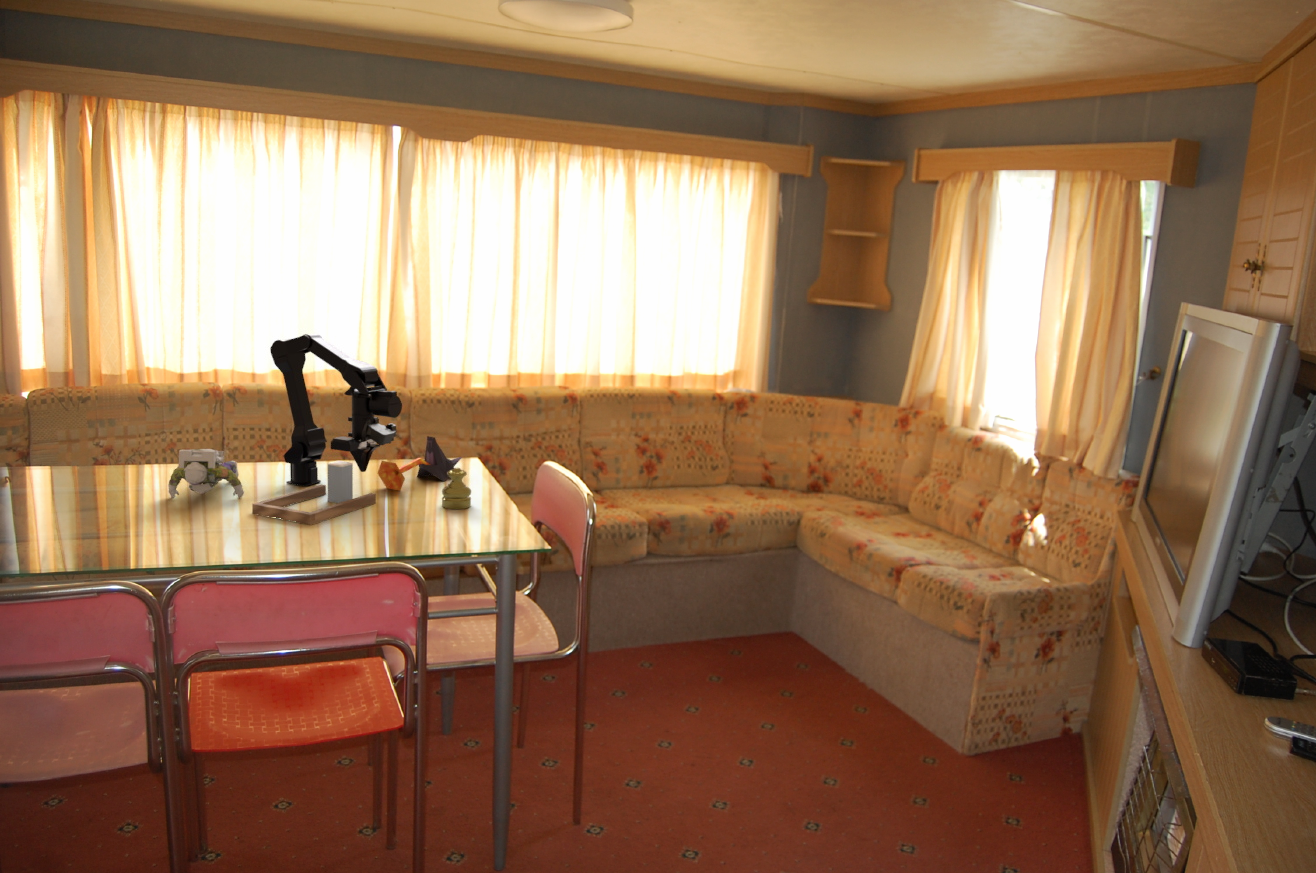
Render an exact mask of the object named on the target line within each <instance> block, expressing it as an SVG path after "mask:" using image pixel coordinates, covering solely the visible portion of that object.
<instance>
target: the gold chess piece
mask: <svg viewBox="0 0 1316 873" xmlns="http://www.w3.org/2000/svg"><path fill="white" fill-rule="evenodd" d="M467 473H468V472H467V471H465V470H464V469H461V468H460V467H454V469H452V470H450V471H448V472H447V475H448V476H449V478H450V480H451V481H450V482H449V483H448V484H447V485H446V486H444V487H443V488H442V490H441V494H442V497H441V506H442V507H443V508H444V509H447V510H465V509H468V508H470V507H471V506H472V498H471V494H472V489H471V488H470V487H469V486H467V485H466V484H465V483H464V481H463V479H464V478H465V477H466V476H467Z"/></svg>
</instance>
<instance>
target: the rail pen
mask: <svg viewBox="0 0 1316 873" xmlns="http://www.w3.org/2000/svg"><path fill="white" fill-rule="evenodd" d="M326 492H327V485H326V484H317V485H315V486H310V487H307V488H304V489H300V490H297V491H292V492H289V493H286V494H283V495H279V496H275V497H272V498H269V499H264V500H262V501H258V502H253V503H252V504H251V505H252V506H251V508H252V509H251V510H252V511H251V513H252V515H255V514H258V515H257V516H260V515H263V516H262V517H265V516H269V517H268V518H271V517H276V518H281V519H283V520H282V521H286V520H290V521H289V522H291V521H296V522H295V523H297V522H298V523H299V524H302V523H304V524H303V525H307V524H310V525H309V526H312V524H313V525H315V523H316V524H318V523H321V522H320V521H322V522H325V521H328V520H330V519H333V518H336V517H339V516H341V515H345V514H348V513H352V512H353V511H357V510H359V509H363V508H366V507H369V506H372V505H375V504H376V503H377V494H376V493H374V492H373V493H372V492H370V493H367V494H364V495H360V496H358V497H354V498H353V499H351V500H347V501H344V502H341V503H335V504H332V505H329V506H325V507H323V508H320V509H317V510H314V511H311V512H310V511H304V510H298V509H293V508H288V505H289V506H291V505H290V504H292V505H294V504H293V503H295V504H297V503H296V502H299V503H302V502H304V501H303V500H306V501H308V499H309V500H311V499H315V498H314V497H316V498H319V497H322V496H325V494H326V495H327V493H326ZM321 495H322V496H321ZM318 496H319V497H318ZM301 501H302V502H301ZM284 506H285V507H284ZM276 518H275V519H276ZM329 518H330V519H329ZM281 519H280V520H281ZM327 519H328V520H327ZM324 520H325V521H324ZM298 523H297V524H298Z"/></svg>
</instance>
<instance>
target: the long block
mask: <svg viewBox="0 0 1316 873" xmlns="http://www.w3.org/2000/svg"><path fill="white" fill-rule="evenodd" d="M353 465H354V464H353V462H350V461H343V460H336V461H331V462H328V463H327V502H328V501H329V503H334V502H335V504H338V503H341V502H344V501H347V500H351V499H354V498H353V497H354V496H353V493H354V492H353V489H354V488H353V486H354V484H353V480H354V477H353V472H354V471H353V468H354V467H353Z"/></svg>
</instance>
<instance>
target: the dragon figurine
mask: <svg viewBox="0 0 1316 873" xmlns="http://www.w3.org/2000/svg"><path fill="white" fill-rule="evenodd" d="M437 442H438V441H437V440H436V437H433V436H429V435H428V436H426V446H425V455H424V459H423V458H422V457H417V458H415V459H413V460H411V461H409V462H407V463H405V464H403V465H402V466H398V465H397V463H396V462H391V461H386V460H381V462H380V465H379V468H378V471H377V475H378V476H379V478H380V480H381V481H382V483H383V485H384V486H385V488H386V489H389V490H394V491H401V490H402V487H403V486H404V483H405V480H406V479H405V476H404V473H406V472H407V471H409V470H412V469H414V468H415V467H418V472H417V474H416V475H417V476H416V477H418V478H419V476H420V477H428V476H435V477H436V478H438V479H439V480H440V481H442V482H445V481H447V479H448V478H450V476H448V475H447V472H448V471H450V470H452V469H454V468H455V466H456V465H457V464H458V463H459V462H460V460H461V459H462V456H459V457H456V458H453V459H450V458H448V457H447V456H446V455H445V453H444V451H443V450H442V449H441V446H440V445H439V444H438V443H437Z"/></svg>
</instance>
